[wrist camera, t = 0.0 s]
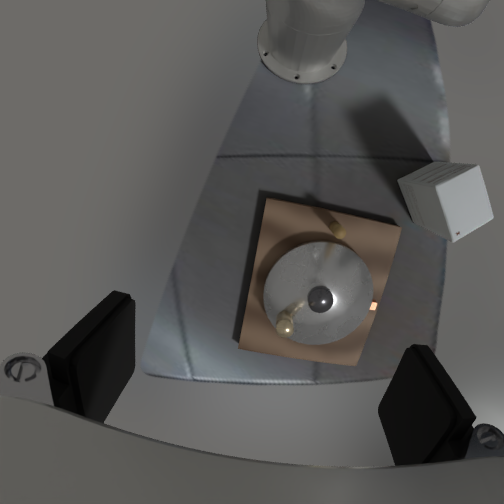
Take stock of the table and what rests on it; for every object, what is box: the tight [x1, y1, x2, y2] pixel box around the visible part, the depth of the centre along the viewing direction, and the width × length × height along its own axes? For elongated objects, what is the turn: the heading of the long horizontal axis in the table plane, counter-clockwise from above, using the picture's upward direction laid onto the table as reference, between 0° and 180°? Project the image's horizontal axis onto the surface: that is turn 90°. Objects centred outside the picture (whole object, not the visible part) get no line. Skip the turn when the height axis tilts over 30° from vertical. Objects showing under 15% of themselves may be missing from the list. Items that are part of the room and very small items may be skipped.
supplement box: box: [397, 162, 494, 242], centre depth 37 cm, size 7×7×13 cm
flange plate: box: [263, 240, 377, 345], centre depth 44 cm, size 16×17×5 cm
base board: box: [238, 197, 402, 366], centre depth 46 cm, size 24×20×5 cm
